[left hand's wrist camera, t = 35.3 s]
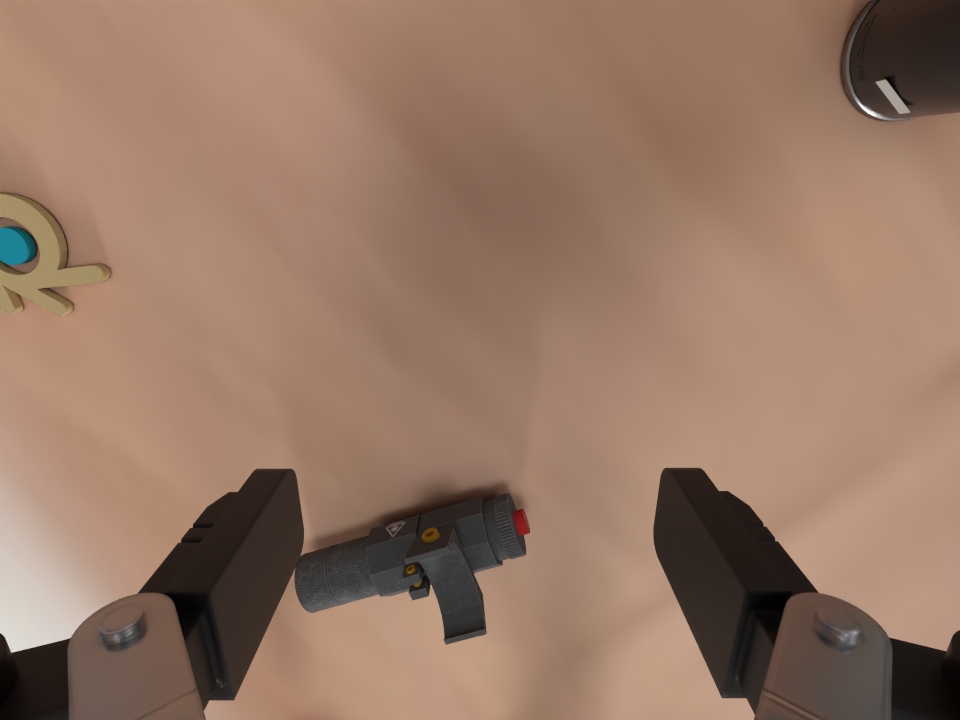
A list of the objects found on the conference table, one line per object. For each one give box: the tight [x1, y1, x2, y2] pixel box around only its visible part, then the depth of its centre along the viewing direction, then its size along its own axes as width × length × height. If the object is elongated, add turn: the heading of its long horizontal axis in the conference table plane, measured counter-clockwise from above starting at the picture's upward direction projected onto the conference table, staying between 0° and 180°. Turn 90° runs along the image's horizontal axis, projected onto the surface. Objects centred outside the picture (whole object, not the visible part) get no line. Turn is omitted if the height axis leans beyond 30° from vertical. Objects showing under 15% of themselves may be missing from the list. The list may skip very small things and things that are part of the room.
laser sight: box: [295, 493, 530, 644], centre depth 49 cm, size 10×22×10 cm, turn 109°
